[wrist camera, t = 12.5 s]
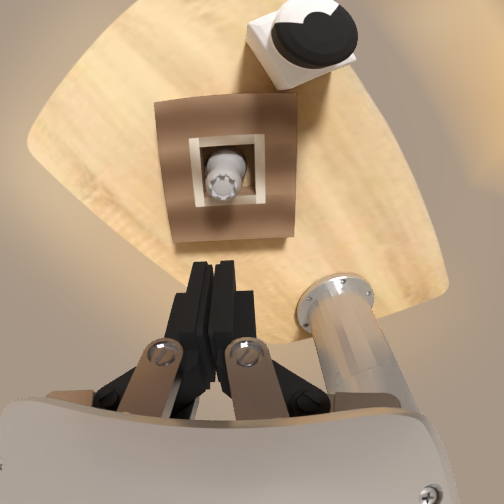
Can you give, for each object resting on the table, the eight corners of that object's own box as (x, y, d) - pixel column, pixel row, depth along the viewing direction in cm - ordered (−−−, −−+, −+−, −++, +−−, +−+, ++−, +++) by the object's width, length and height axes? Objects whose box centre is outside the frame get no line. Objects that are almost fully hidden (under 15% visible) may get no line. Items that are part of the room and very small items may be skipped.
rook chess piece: (221, 191, 32) (217, 220, 25) (199, 161, 30) (186, 182, 23) (254, 170, 31) (258, 194, 24) (231, 138, 29) (229, 152, 22)
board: (289, 225, 34) (294, 237, 32) (177, 231, 34) (172, 243, 31) (291, 93, 26) (296, 93, 23) (161, 102, 26) (154, 102, 23)
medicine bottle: (333, 67, 24) (384, 55, 14) (277, 92, 26) (301, 87, 16) (302, 15, 21) (336, -23, 11) (244, 39, 23) (247, 5, 12)
